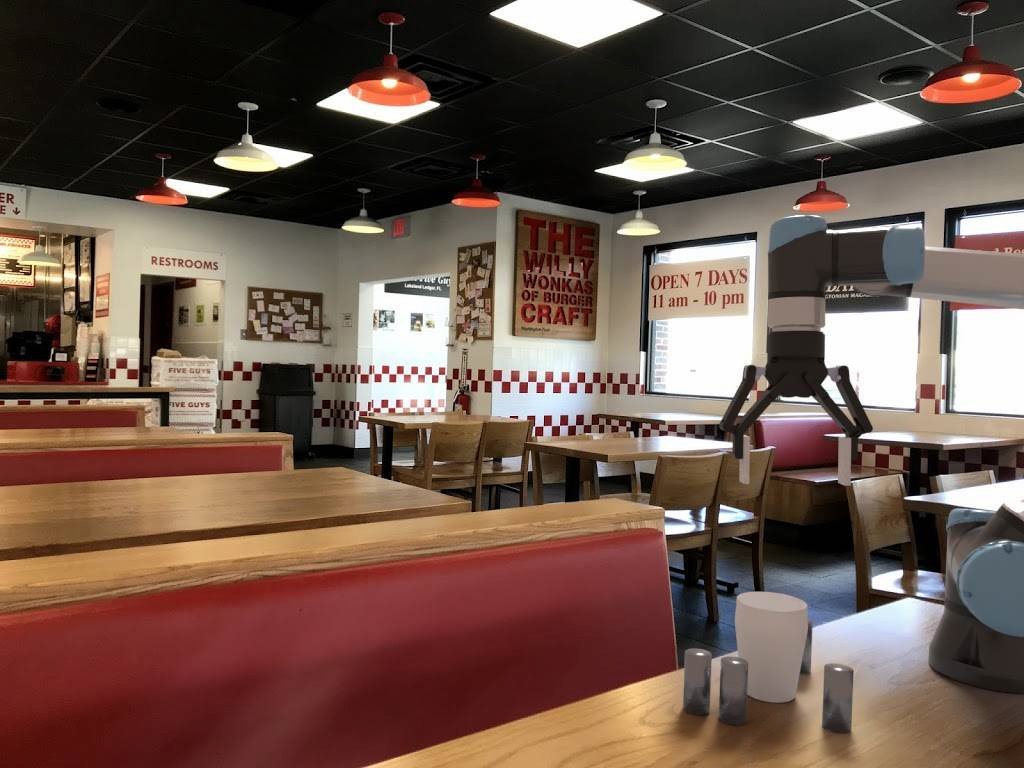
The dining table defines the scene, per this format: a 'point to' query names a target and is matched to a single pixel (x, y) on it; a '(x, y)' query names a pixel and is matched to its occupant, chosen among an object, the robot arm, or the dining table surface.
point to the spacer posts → (736, 687)
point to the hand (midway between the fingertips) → (794, 483)
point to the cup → (771, 643)
